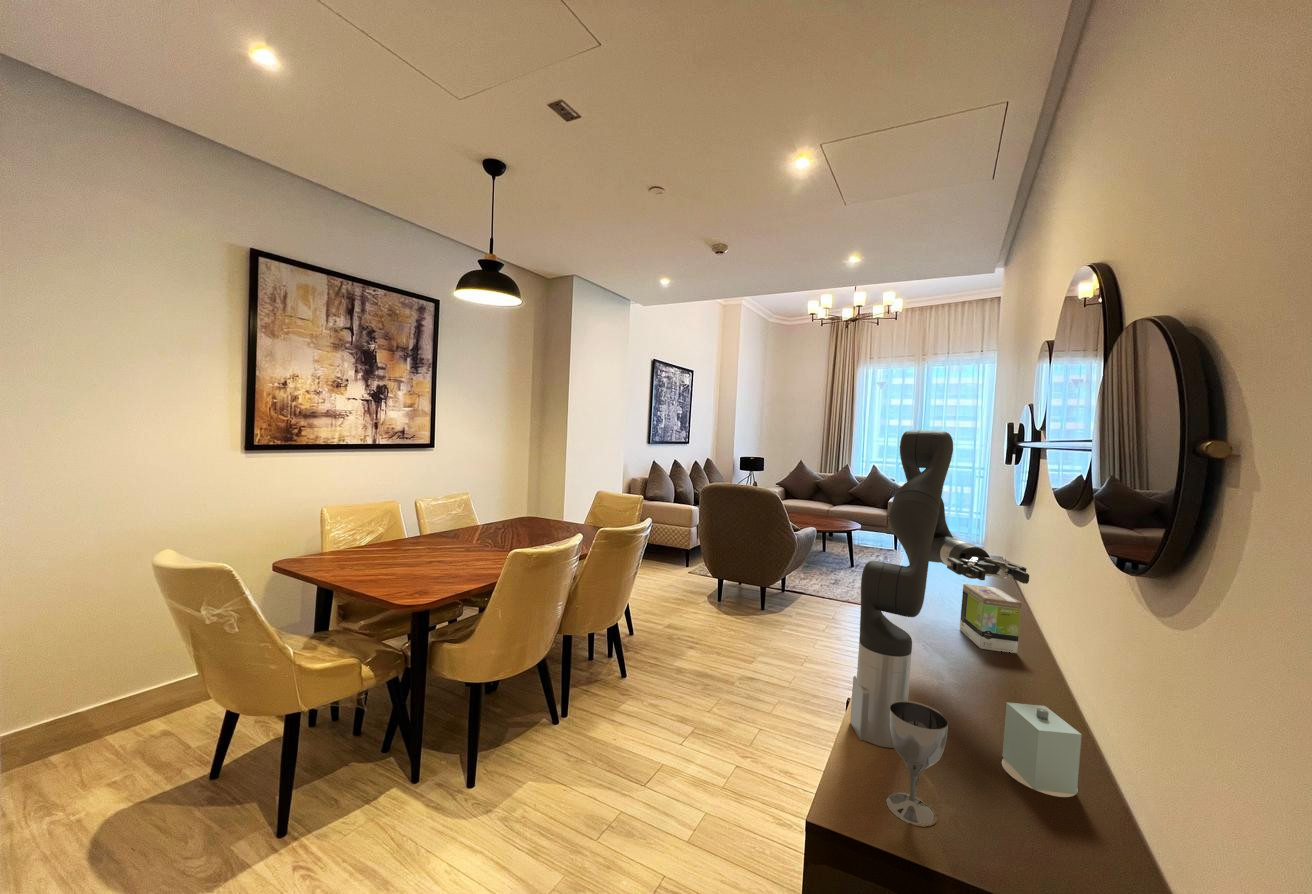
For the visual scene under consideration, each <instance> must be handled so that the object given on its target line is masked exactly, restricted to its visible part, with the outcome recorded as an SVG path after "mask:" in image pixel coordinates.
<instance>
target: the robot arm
mask: <svg viewBox="0 0 1312 894" xmlns="http://www.w3.org/2000/svg"><path fill="white" fill-rule="evenodd" d="M953 452H954V440H953V438H952V436H951V434H950V433H949V432H947V431H944V430H933V429H932V430H925V429H924V430H918V429H917V430H907V431H905V432H903V434H902V436H901V439H900V442H899V456H900V461H901V465H902V470H903V472H904V475H905V479H906V482H905V483H904V484H902V486H900V487H899V488H898V489H897V491H896V492H895V493H894V495H893V499H892V502H891V506H890V509H889V513H888V522H889V525H890V528H891V529H892V532H893V534H895V535H894V536H896V539H897V540H898V541H899V543H900V544H901V546H902V549H903V550H904V552H905V555H906V557H907V560H908V563H909V565H907V566H905V565H900V564H895V563H889V562H884V561H879V560H869V561H868V562H866V564H865V565H864V568H863V569H862V573H861V578H860V579H861V581H860V619H859V621H860V622H859V642H858V653H857V654H858V655H857V657H858V658H857V671H856V675H854V676H852V677H853V678H852V686H851V687H852V691H851V702H850V703H851V704H850V705H851V706H850V718H849V719H850V720H849V723H850V725H851V727H852V729H853V730H854V732H855V735H856V737H857V738H858V740H860V741H865V742H868V743H871V744H873V745H875V746H878V747H883V748H889V749H890V748H891V749H892V748H893V749H895V748H894V746H893V743H892V740H891V735H890V725H889V713H890V706H891V704H892V703H893V702H895V701H901V700H906V701H909V690H910V678H911V677H910V675H911V664H912V650H913V649H912V648H913V640H912V636H911V635H910V633H907V631H905V630H904V629H903V628H901V627H899V626H898V625H896V624H895V623H893V622H892V621H890V620H889V619H888V617H886V615H884V614H883V612H884V613H889V614H893V615H897V616H901V617H906V618H916V617H917V616H919V614H920V612H921V610H922V609H923V605H924V601H925V597H926V596H925V595H926V588H927V581H928V580H927V578H928V570H929V564H930V563H941V564H943V565H945V566H946V568H947V569H948V570H950V571H952V572H954V573H955V574H957V575H958V576H961V575H962V576H963V577H966V578H968V579H975V580H976V579H978V580H979V581H985V580H986V577H995V578H999V579H1007V578H1008V579H1011V580H1012V579H1013V580H1014V581H1016V582H1020V583H1021V584H1026V585H1027V584H1029V581H1030V574H1029V573H1028V572H1027V567H1025V566H1023V565H1020V564H1016V563H1015V562H1011V561H1009V560H1006V561H1000V560H995V559H994V558H992V557H990V555H989V553H988V552H987V551H986V550H984V549H983V548H981V547H979V546H976V545H975V544H971V543H969V542H967V541H964V540H959V539H957V538H954V536H953V535H952V533H951V531H950V529H949V527H948V524H947V521H946V511H945V504H944V500H943V498H942V496H943V490H944V484H945V482H946V478H947V474H948V471H949V468H950V464H951V461H952V457H953ZM920 468H921V469H923V470H922V471H921V470H920ZM929 562H930V563H929ZM1000 570H1001V571H1000ZM999 572H1001V573H1000V574H999Z"/></svg>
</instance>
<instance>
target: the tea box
mask: <svg viewBox="0 0 1312 894" xmlns="http://www.w3.org/2000/svg"><path fill="white" fill-rule="evenodd" d="M961 598H962V599H961V607H960V608H961V609H960V619H959V630H960V631H961V632H962V633H963V634H964V635H965V636H966V637H968V639H969V640H970V641H972V643H974V644H975V645H976V646H977V647H978V648H979V649H982V650H989V651H995V652H1001V651H1002V652H1003V653H1009V652H1010V653H1011V654H1017V653H1018V647H1019V635H1020V624H1021V614H1022V601H1020V600H1018V599H1016V598H1015V597H1013V596H1011V595H1010V594H1008V593H1006V592H1005V591H1004V590H1001V589H1000V588H998V587H995V586H993V587H992V586H983V585H977V584H976V585H975V584H968V583H967V584H963V585H962V597H961ZM1002 652H1001V653H1002ZM1010 653H1009V654H1010Z"/></svg>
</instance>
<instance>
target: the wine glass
mask: <svg viewBox="0 0 1312 894" xmlns="http://www.w3.org/2000/svg"><path fill="white" fill-rule="evenodd" d="M889 725H890V735H891V740H892V743H893V746H894V748H893V749H894V750H895V751H896V753H897V754H898V755H899V757H900V758H901V760H902V761H903V763H905V765H906V768H907V771H908V772H909V793H907V792H900V791H899V792H892V793H890V794H889V795H888V796H887V797H886V800H885V802H886V806H887V808H888V809H889V811H890V812H891V813H892V814H893V816H895V817H897V818H898V819H899V818H900V820H901V821H903V822H904V821H905V823H906V822H907V824H909V822H910V823H911V822H912V823H913V824H914V823H915V824H916V823H917V824H918V823H919V824H922V823H923V824H922V825H924V824H926V823H927V824H926V825H928V824H929V825H930V824H932V822H934V821H933V819H934V818H935V815H934V813H933V811H932V809H931V808H930V807H929V806H928V805H926V804H924V803H923V802H921V801H919V800H918V799H917V798H915V796H916V794H917V793H916V792H917V785H918V782H919V777H920V775H921V774H922V773H923V772H924V770H926V769H928V768H930V767H931V766H934V765H935V764H936V763H937V762H939V761H940V759H941V758H942V755H943V753H944V750H945V748H946V743H947V739H948V729H949V728H948V727H949V721H948V719H947V717H946V716H945V715H944V714H942V713H941V712H940V711H939V710H937V709H935V708H934V707H932V706H930V705H927V704H925V703H921V702H917V701H915V700H908V701H906V700H901V701H895V702H893V703H892V704H891V706H890V713H889ZM906 793H907V794H906ZM909 794H910V795H909Z"/></svg>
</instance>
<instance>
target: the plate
mask: <svg viewBox="0 0 1312 894" xmlns="http://www.w3.org/2000/svg"><path fill="white" fill-rule="evenodd" d="M1001 765H1002V768H1003V769H1004V771H1005V772H1006V773H1008V775H1009V776H1011V777H1012V778H1013V779H1015V780H1016V781H1017V782H1018V783H1021V784H1022V785H1023V786H1025V787H1028V788H1030V789H1031V790H1034V789H1033V788H1032V787H1031V786H1030V785H1029V784H1028V783H1027V782H1026V781H1025V780H1024V779H1023V778H1022V777H1021V775H1020V774H1019V773H1018V772H1017V771H1016V770H1015V769H1014V768H1013V767H1012V766H1011V765H1010V764H1009V763H1008V762H1007V761H1006V760H1005V759H1004V758H1003V757H1002V759H1001ZM1078 790H1079V789H1078V787H1077V792H1079V791H1078ZM1036 791H1037V792H1039V793H1043V794H1045V795H1049V796H1053V797H1059V798H1070V797H1074V796H1075V795H1077V794H1068V793H1059V792H1050V791H1040V790H1036Z"/></svg>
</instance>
